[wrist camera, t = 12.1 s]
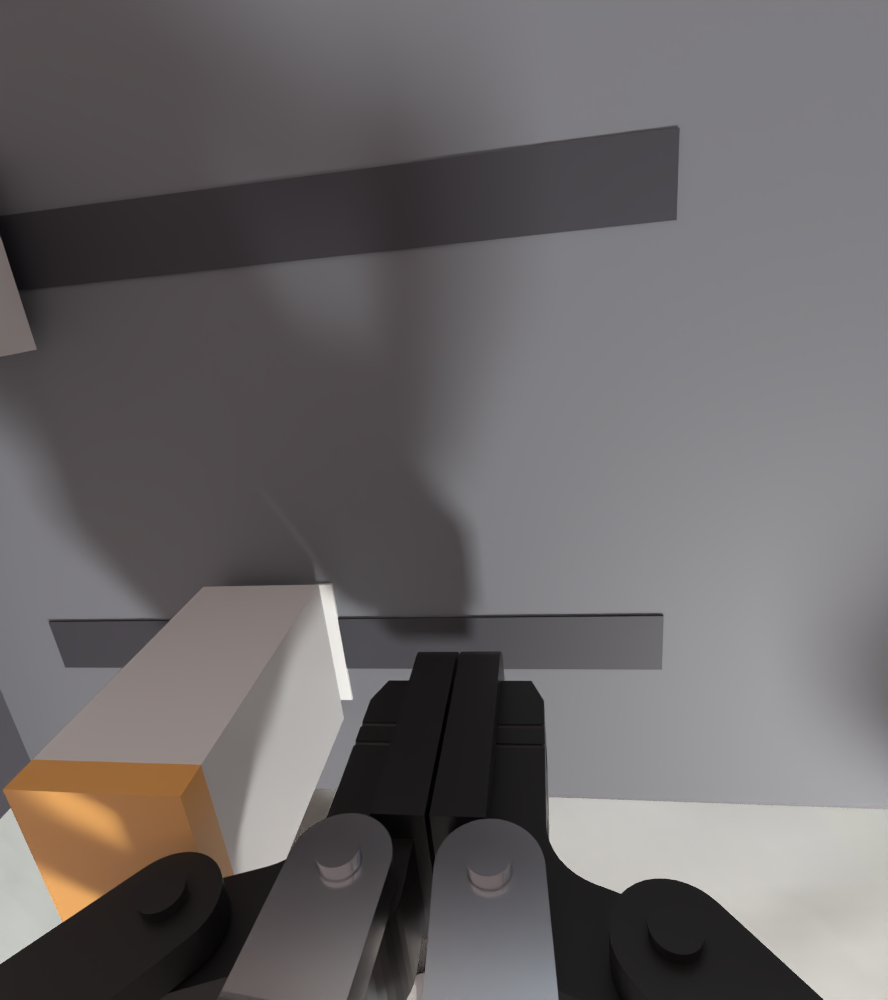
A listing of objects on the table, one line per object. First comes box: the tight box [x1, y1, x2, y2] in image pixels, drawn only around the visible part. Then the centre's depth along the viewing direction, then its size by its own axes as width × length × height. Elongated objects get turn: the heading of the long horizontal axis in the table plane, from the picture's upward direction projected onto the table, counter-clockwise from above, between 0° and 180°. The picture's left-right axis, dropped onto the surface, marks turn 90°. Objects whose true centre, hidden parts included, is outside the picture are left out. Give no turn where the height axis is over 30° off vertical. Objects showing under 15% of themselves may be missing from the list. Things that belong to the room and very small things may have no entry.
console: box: [0, 0, 888, 819], centre depth 12 cm, size 22×16×4 cm
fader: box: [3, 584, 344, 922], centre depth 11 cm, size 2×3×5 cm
